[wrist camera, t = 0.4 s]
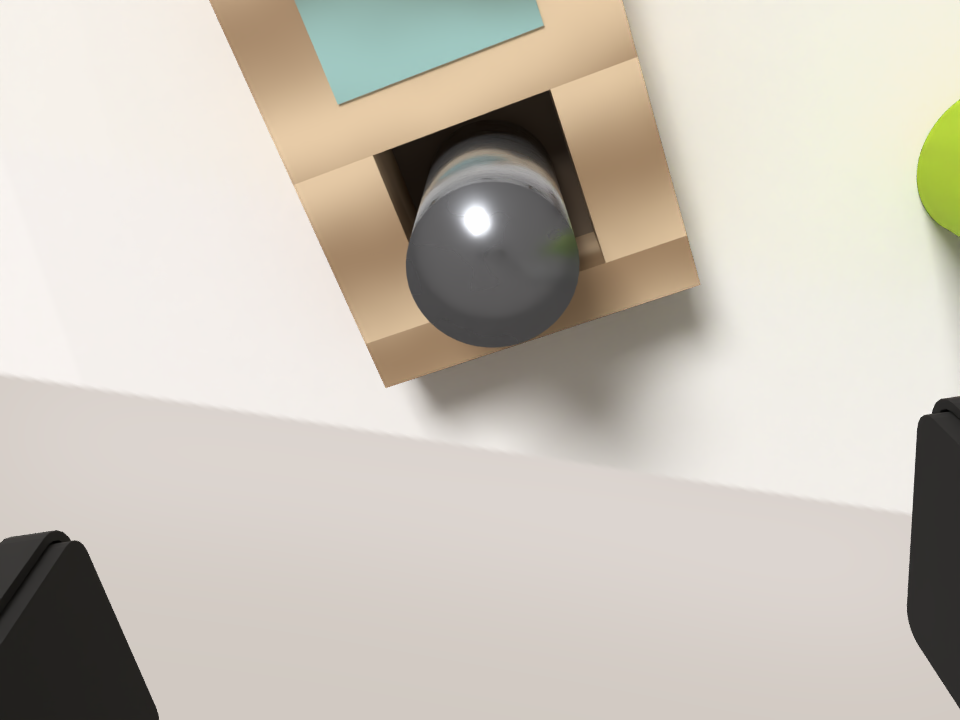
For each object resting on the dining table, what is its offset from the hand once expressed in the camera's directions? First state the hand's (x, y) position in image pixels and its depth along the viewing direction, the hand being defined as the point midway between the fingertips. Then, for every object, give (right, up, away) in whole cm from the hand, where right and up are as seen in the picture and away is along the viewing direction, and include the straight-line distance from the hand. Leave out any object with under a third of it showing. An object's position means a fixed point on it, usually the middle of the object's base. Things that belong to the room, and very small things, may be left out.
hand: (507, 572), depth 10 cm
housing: (-1, +13, +22) cm, 25 cm away
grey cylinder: (0, +9, +23) cm, 25 cm away
